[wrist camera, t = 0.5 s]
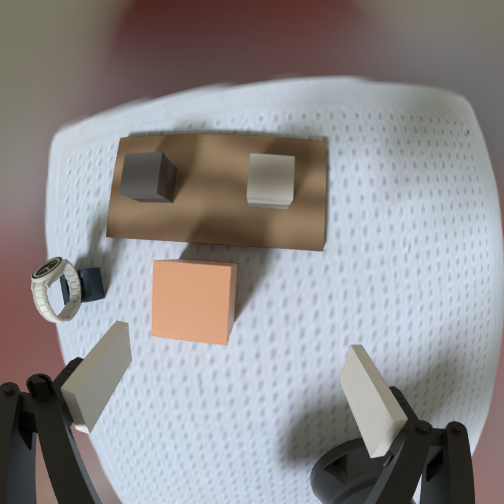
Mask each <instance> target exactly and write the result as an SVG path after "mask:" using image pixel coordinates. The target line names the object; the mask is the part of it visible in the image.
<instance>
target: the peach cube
mask: <svg viewBox="0 0 504 504" xmlns="http://www.w3.org/2000/svg"><path fill="white" fill-rule="evenodd" d="M237 270H238V263H224V262H211V261H197V260H184V259H171V260H155V261H154V265H153V288H152V336H156V337H162V338H169V339H177V340H184V341H192V342H201V343H210V344H219V345H227V342H228V339H229V336H230V334H231V331H232V328H233V325H234V317H235V301H236V285H237Z"/></svg>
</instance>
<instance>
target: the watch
mask: <svg viewBox="0 0 504 504" xmlns="http://www.w3.org/2000/svg"><path fill="white" fill-rule="evenodd" d="M31 278H32V285H31V289H32V292H33V296H34V297H33V298H34V302H35V305H36V307H37V309H38V310H39V312H40V314H41V315H42V316H43V317H44V318H45V319H46V320H48V321H50V322H66V321H70V320H71V319H72V318H73V317H74V316H75V315H76V313H77V312H78V310H79V308H80V305H81V303H83V302H90V301H95V300H99V299H103V298H105V296H104V291H103V286H102V280H101V275H100V269H99V268H88V269H83V270H78V271H76V269H75V267H74V266H73V265H72V264H71V263H70V262H69V261H68V260H67V259H64V260H63V259H62V257H56V258H52V259H50V260H48V261H46V262H44V263H43V264H41V265H40V266H39V267H38V268H37V269H36V270H35V271H34V272H33V273H32V275H31ZM59 278H60V283H61V289H62V294H63V300H64V305H65V307H64V309H63V310H62V312H61V313H60V314H59V315H58V316H57V315H56V314H54V311H53V310H52V308H51V306H50V304H49V302H48V297H47V294H46V293H47V291H46V288H47V289H48V288H49V287H50V286H51V284H52V283H53V282H55V281H56V280H58V279H59ZM38 297H39V298H38Z"/></svg>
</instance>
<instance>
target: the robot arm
mask: <svg viewBox="0 0 504 504" xmlns="http://www.w3.org/2000/svg"><path fill="white" fill-rule="evenodd" d="M131 361H132V357H131V348H130V339H129V328H128V323H126V322H121V321H116V322H115V323H114V324H113V325H112V327H111V328H110V329H109V330H108V331H107V332H106V334H105V335H104V336H103V337H102V338H101V339H100V341H99V342H98V343H97V344H96V345H95V346H94V348H93V349H92V350H91V351H90V352H89V354H88V355H87V356H86V357H85V358H84V359H82V358H79V357H77V358H75V359H74V360H72V361H70V362H69V363H68V365H67V366H66V367H65V368H64V369H63V370H62V372H61V373H60V374H59V375H58V376H57V378H56V379H55V380H54V381H53V382H52V380H51V378H50V377H49V376H48V375H45V374H34V375H32V376H31V377H29V378H28V380H27V383H26V385H27V388H28V390H29V392H30V393H26V392H21V391H20V389H19V387H18V385H17V384H15V383H12V382H7V383H4V384H2V385H1V386H0V504H37V503H36V485H35V456H36V435H37V433H38V436H39V441H40V445H41V449H42V453H43V457H44V461H45V464H46V468H47V471H48V475H49V478H50V481H51V484H52V487H53V490H54V493H55V496H56V498H57V501H58V504H102V502H101V500H100V498H99V497H98V494H97V492H96V490H95V488H94V486H93V484H92V482H91V479H90V477H89V475H88V473H87V470H86V468H85V466H84V463H83V461H82V458H81V455H80V453H79V450H78V448H77V445H76V442H75V439H74V437H73V433H72V430H71V428H70V426H71V425H72V423H73V422H74V425H75V427H76V429H77V430H80V431H82V432H85V433H88V434H90V433H91V431H92V430H93V428H94V426H95V424H96V422H97V420H98V419H99V417H100V415H101V413H102V411H103V410H104V408H105V406H106V404H107V402H108V401H109V399H110V397H111V395H112V394H113V392H114V390H115V388H116V387H117V385H118V383H119V382H120V380H121V378H122V376H123V375H124V373H125V371H126V370H127V368H128V366H129V365H130V363H131ZM339 382H340V384H341V386H342V389H343V391H344V393H345V396H346V398H347V401H348V403H349V405H350V408H351V410H352V413H353V415H354V418H355V420H356V422H357V425H358V427H359V430H360V432H361V435H362V437H363V438H361V439H356V440H353V441H350V442H347V443H344V444H342V445H340V446H338V447H336V448H334V449H333V450H331V451H330V452H328V453H327V454H325V455H324V456H323V457H322V458H321V459H320V460H319V461H318V462H317V463H316V465H315V466H314V468H313V469H312V472H311V475H310V482H311V486H312V490H313V492H314V494H315V495H316V496H317V498H318V499H319V500H320V501H321V502H322V503H323V504H416V503H415V501H414V500H413V495H414V493H415V490H416V488H417V485H418V482H419V479H420V477H421V474H422V481H421V494H420V504H475V492H474V479H473V468H472V459H471V452H470V445H469V439H468V433H467V429H466V427H465V426H464V425H463V424H461V423H460V422H456V421H453V422H450V423H448V425H447V426H446V428H445V429H439V428H433V427H432V425H431V424H429V423H428V422H426V421H422V420H419V419H418V418H417V416H416V414H415V413H414V411H413V410H412V408H411V407H410V405H409V404H408V402H407V400H406V399H405V397H404V396H403V394H402V393H401V391H400V390H398V389H397V388H396V387H394V386H392V387H388V385H387V384H386V382H385V381H384V379H383V377H382V376H381V374H380V373H379V371H378V369H377V368H376V366H375V365H374V363H373V362H372V360H371V358H370V357H369V355H368V354H367V352H366V351H365V349H364V348H363V346H362V345H350V348H349V351H348V354H347V357H346V361H345V364H344V367H343V370H342V373H341V376H340V378H339Z"/></svg>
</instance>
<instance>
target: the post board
mask: <svg viewBox="0 0 504 504" xmlns="http://www.w3.org/2000/svg"><path fill="white" fill-rule="evenodd" d="M325 204H326V142H321V141H312V140H303V139H293V138H282V137H269V136H252V135H226V134H178V135H153V136H137V137H124V138H120V142H119V147H118V152H117V157H116V163H115V169H114V175H113V181H112V188H111V195H110V203H109V212H108V221H107V232H106V237H111V238H127V239H144V240H160V241H175V242H191V243H206V244H221V245H236V246H251V247H266V248H280V249H295V250H309V251H323V247H324V229H325Z"/></svg>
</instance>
